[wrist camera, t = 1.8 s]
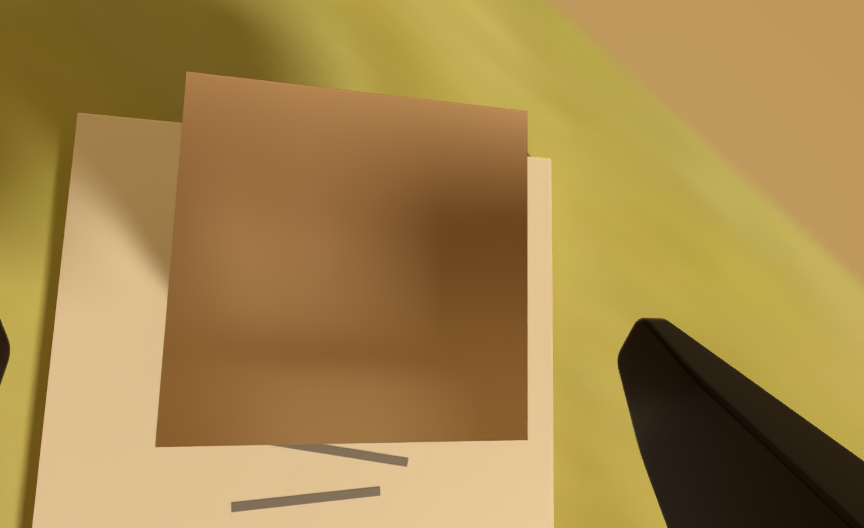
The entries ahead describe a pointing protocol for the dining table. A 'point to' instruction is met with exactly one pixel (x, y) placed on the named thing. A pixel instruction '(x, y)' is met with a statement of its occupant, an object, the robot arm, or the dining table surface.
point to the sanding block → (345, 269)
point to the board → (254, 464)
